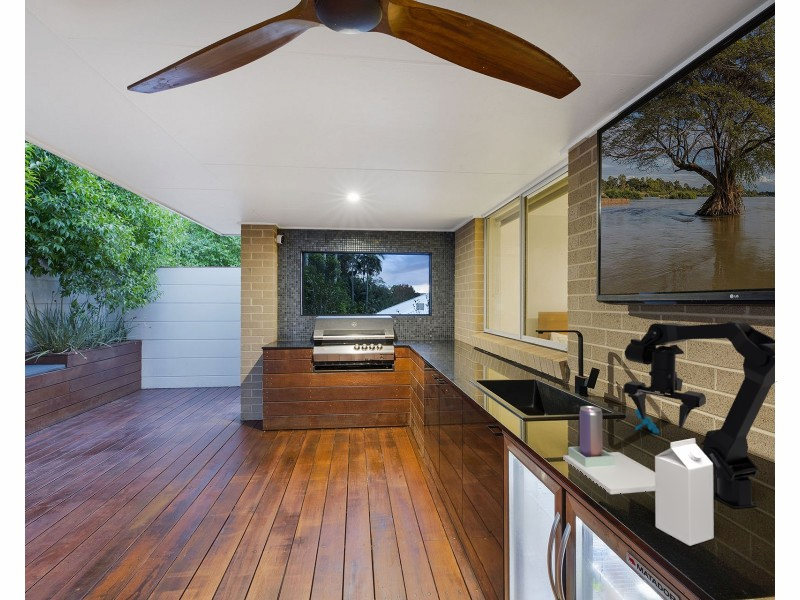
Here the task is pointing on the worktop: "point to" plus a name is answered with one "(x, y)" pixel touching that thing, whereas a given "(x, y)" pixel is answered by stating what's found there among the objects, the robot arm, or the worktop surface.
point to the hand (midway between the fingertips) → (661, 423)
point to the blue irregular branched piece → (646, 423)
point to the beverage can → (591, 431)
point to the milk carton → (684, 493)
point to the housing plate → (613, 471)
